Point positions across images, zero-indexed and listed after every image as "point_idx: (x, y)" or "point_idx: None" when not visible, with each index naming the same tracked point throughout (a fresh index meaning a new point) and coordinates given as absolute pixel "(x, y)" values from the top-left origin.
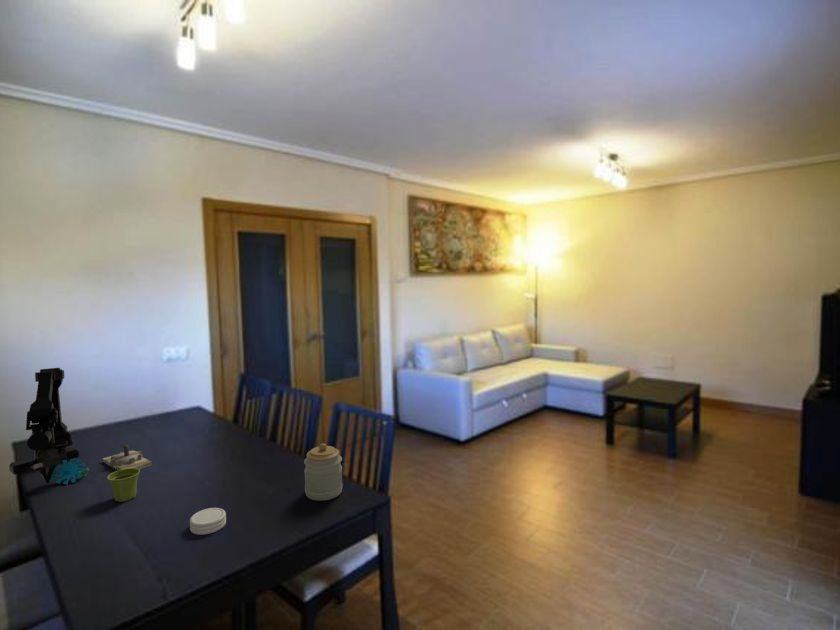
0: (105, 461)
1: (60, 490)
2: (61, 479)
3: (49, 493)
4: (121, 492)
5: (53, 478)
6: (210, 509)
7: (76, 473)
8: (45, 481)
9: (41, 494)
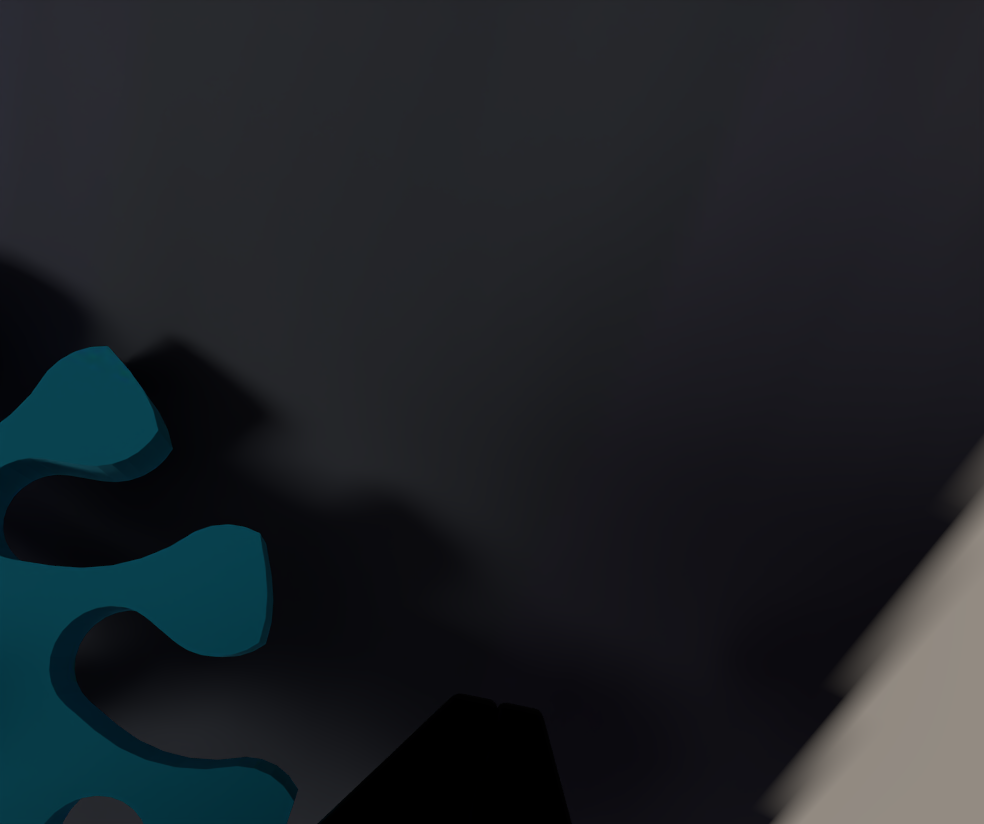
0: None
1: (368, 50)
2: (113, 589)
3: (695, 132)
4: None
5: (270, 800)
6: None
7: None
8: (558, 782)
9: (876, 310)
